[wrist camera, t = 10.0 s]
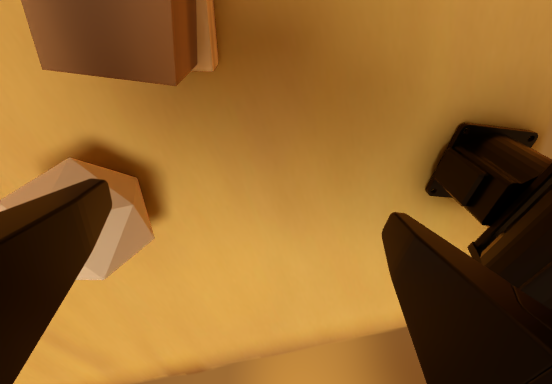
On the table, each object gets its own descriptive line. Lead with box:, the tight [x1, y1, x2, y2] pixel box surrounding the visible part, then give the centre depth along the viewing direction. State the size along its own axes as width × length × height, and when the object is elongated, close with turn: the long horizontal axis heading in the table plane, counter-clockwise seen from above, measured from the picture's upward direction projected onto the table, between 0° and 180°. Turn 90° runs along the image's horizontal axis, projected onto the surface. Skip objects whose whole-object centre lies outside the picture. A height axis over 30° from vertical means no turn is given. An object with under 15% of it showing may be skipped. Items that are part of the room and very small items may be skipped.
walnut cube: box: [21, 0, 197, 86], centre depth 12 cm, size 5×5×5 cm
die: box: [0, 157, 154, 280], centre depth 20 cm, size 8×9×10 cm
